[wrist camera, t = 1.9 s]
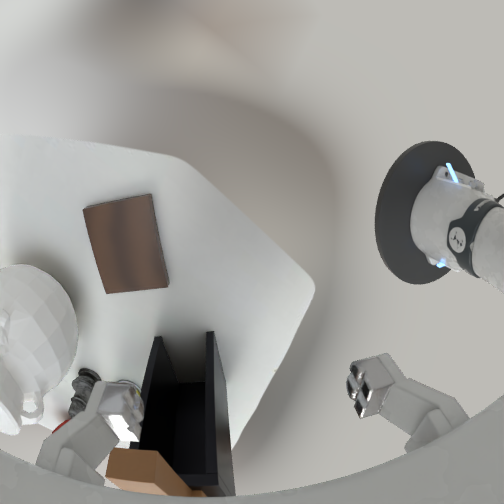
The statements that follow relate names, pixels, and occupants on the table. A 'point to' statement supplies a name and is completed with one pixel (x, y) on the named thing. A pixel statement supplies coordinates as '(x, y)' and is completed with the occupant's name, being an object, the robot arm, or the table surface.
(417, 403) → the robot arm
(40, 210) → the table surface
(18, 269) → the pitcher
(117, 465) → the brown stepped block
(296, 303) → the table surface
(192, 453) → the tall black box
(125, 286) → the board
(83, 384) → the dark grey tall piece
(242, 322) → the table surface
